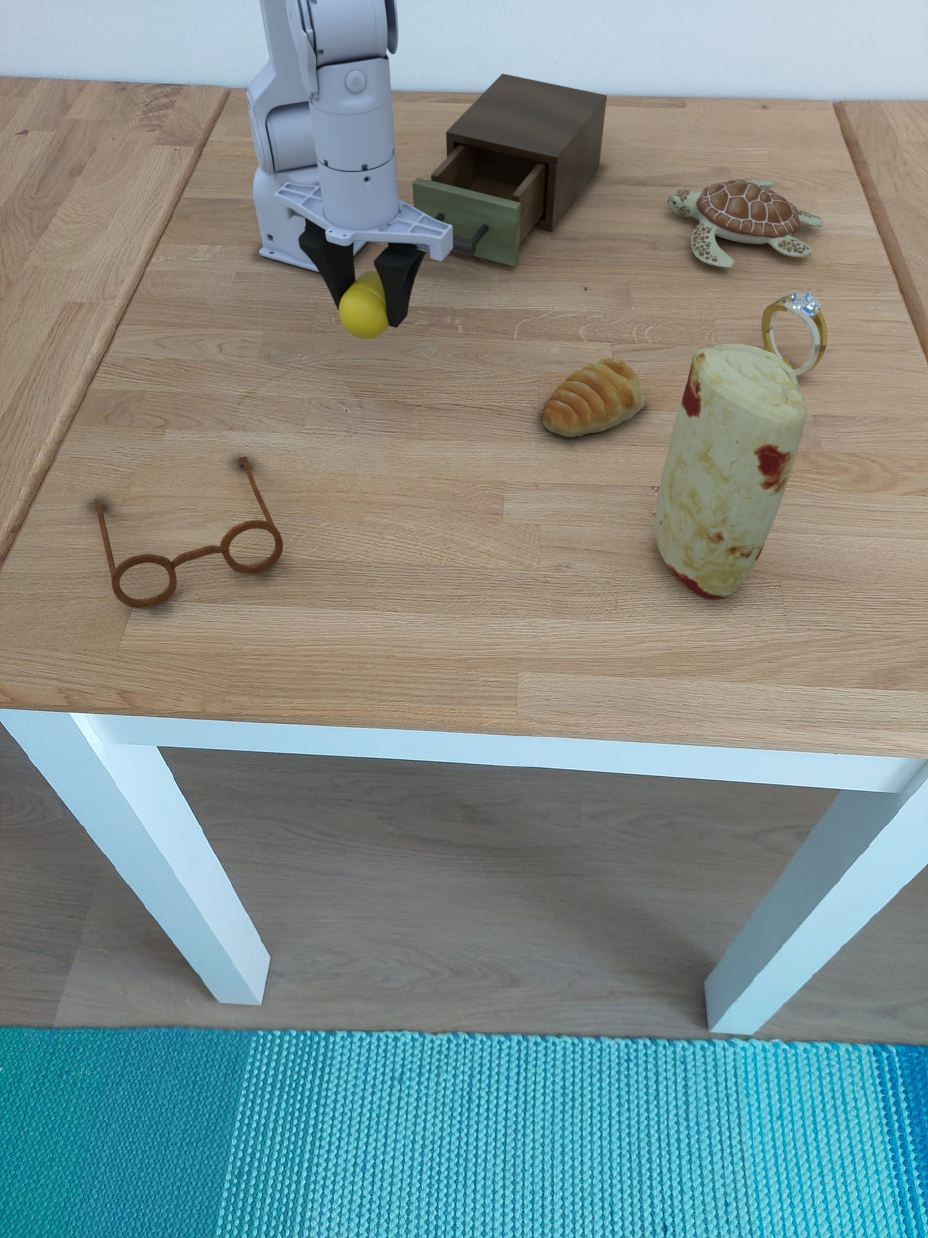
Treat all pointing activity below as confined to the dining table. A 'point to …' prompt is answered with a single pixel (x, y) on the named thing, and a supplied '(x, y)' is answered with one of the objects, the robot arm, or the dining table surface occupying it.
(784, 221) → the decorative turtle
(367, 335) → the yellow capsule container
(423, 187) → the drawer
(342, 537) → the dining table surface
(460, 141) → the cabinet
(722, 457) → the food model
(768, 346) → the ring
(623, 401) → the pastry
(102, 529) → the glasses
